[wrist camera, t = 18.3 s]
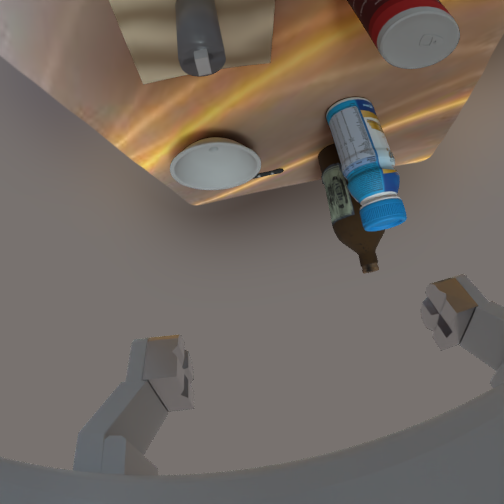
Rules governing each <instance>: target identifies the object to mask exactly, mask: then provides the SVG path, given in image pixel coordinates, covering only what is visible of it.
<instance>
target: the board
mask: <svg viewBox="0 0 504 504" xmlns="http://www.w3.org/2000/svg"><path fill="white" fill-rule="evenodd" d="M109 2H110V4H111V7H112V10H113V12H114V15H115V17H116V20H117V22H118V25H119V27H120V29H121V32H122V34H123V37H124V39H125V42H126V44H127V47H128V49H129V51H130V54H131V56H132V59H133V61H134V63H135V66H136V68H137V71H138V73H139V75H140V78H141V80H142V82H143V85H144V84H148V83H152V82H156V81H160V80H165V79H169V78H174V77H179V76H184V75H189V74H187V73H185V72H184V71H183V70H182V68H181V66H180V63H179V60H178V49H177V31H176V9H175V4H176V0H109ZM214 2H215V7H216V12H217V16H218V21H219V26H220V31H221V36H222V40H223V45H224V50H225V56H226V62H225V64H224V66H223V67H222V68H221V69H224V68H231V67H239V66H247V65H256V64H266V63H270V62H271V49H272V36H273V22H274V9H275V0H214Z"/></svg>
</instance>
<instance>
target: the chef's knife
mask: <svg viewBox="0 0 504 504" xmlns="http://www.w3.org/2000/svg"><path fill="white" fill-rule="evenodd" d="M283 171H284V170H283V169H276V170H273V171H269V172H264V173H259V174H257V175H256V176H255V177H254V178H258V177H263V176H267V175H272V174H278V173H281V172H283ZM252 179H253V178H252Z"/></svg>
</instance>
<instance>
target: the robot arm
mask: <svg viewBox="0 0 504 504" xmlns="http://www.w3.org/2000/svg"><path fill="white" fill-rule="evenodd" d="M425 293H426V295H427V298H426V299H425V300H424V301H423V303H422V307H421V318H422V320H423V323H424V324H425V326H426V328H427V329H429V330H431V331H433V339H434V340H435V342H436V343H437V345H438V347H439V348H440V349H441V351H442V350H445V349H448V348H450V347H453V346H456V345H459V344H460V346H461V347H463V348H464V349H465V350H467V351H468V352H470V353H471V354H473V355H474V356H476V357H477V358H479V359H480V360H481V361H483V362H484V363H486V364H488V365H489V366H490V367H492V368H493V369H494V370H496V373H495V374H494V376H493V377H492V378H491V381H490V384H491V386H492V387H493V389H491V390H489V391H487V392H485V393H483V394H482V395H480V396H478V397H476V398H474V399H472V400H470V401H468V402H466V403H464V404H462V405H460V406H458V407H456V408H454V409H451V410H449V411H447V412H445V413H443V414H440V415H438V416H436V417H433V418H431V419H429V420H427V421H424V422H422V423H420V424H417V425H414V426H412V427H409V428H406V429H404V430H401V431H398V432H396V433H393V434H390V435H387V436H384V437H381V438H378V439H375V440H372V441H369V442H366V443H363V444H360V445H356V446H353V447H349V448H346V449H342V450H338V451H335V452H331V453H327V454H323V455H319V456H315V457H310V458H306V459H301V460H296V461H291V462H287V463H281V464H275V465H270V466H264V467H257V468H250V469H244V470H235V471H225V472H216V473H203V474H186V475H158V468H157V467H156V466H155V465H154V464H153V463H152V462H151V461H149V460H148V459H147V458H146V457H145V456H144V454H145V452H146V450H147V449H148V447H149V445H150V444H151V442H152V440H153V439H154V437H155V435H156V434H157V432H158V430H159V429H160V427H161V425H162V424H163V422H164V420H165V419H166V417H167V415H168V412H171V411H180V410H188V409H194V391H193V388H192V386H191V382H192V381H193V380H194V376H193V366H192V361H191V357H190V354H189V352H188V351H187V350H185V349H184V345H185V342H184V340H183V338H182V336H181V335H173V336H162V337H152V338H145V339H135V340H134V341H133V342H132V345H131V351H130V357H129V363H128V369H127V376H126V382H121V383H120V384H119V386H118V387H117V388H116V389H115V390H114V391H113V393H112V394H111V395H110V396H109V397H108V399H107V400H106V401H105V402H104V403H103V405H102V406H101V407H100V408H99V409H98V410H97V412H96V413H95V414H94V415H93V416H92V418H91V419H90V420H89V421H88V422H87V423H86V425H85V426H84V427H83V428H82V429H81V431H80V432H79V433H78V439H77V444H76V451H75V458H74V465H73V470H66V469H59V468H52V467H46V466H41V465H35V464H30V463H25V462H20V461H16V460H12V459H7V458H3V457H0V504H504V307H503V306H501V305H499V304H497V303H495V302H493V301H491V302H489V301H488V300H487V299H486V298H485V297H484V295H483V294H482V293H481V292H480V291H479V290H478V288H477V287H476V286H475V285H474V284H473V283H472V282H471V280H470V279H469V278H468V277H467V276H466V275H463V274H461V275H458V276H455V277H452V278H448V279H444V280H441V281H437V282H434V283H430V284H429V285H428V286H427V288H426V292H425Z"/></svg>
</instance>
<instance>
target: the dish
mask: <svg viewBox="0 0 504 504" xmlns="http://www.w3.org/2000/svg"><path fill="white" fill-rule="evenodd" d="M260 168H261V160H260V158H259V156H258V155H257V154H256V153H255V152H254V151H253V150H251V149H250V148H248V147H245V146H244V145H242V144H240V143H238V142H236V141H234V140H231V139H227V138H220V137H212V138H206V139H202V140H199V141H197V142H194V143H193V144H191V145H189V146H188V147H187V148H185V149H184V150H183V151H182V152H180V153H179V154H178V155H177V156H176V157H175V158H174V159H173V160H172V162H171V165H170V173H171V175H172V177H173V178H174V179H175V180H176V181H177V182H179V183H180V184H182V185H184V186H187V187H190V188H195V189H201V190H220V189H227V188H232V187H235V186H239V185H241V184H244V183H246V182H248V181H249V180H251V179H252V178H254V177H255V176H256V175H257V174H258V172H259V171H260Z"/></svg>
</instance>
